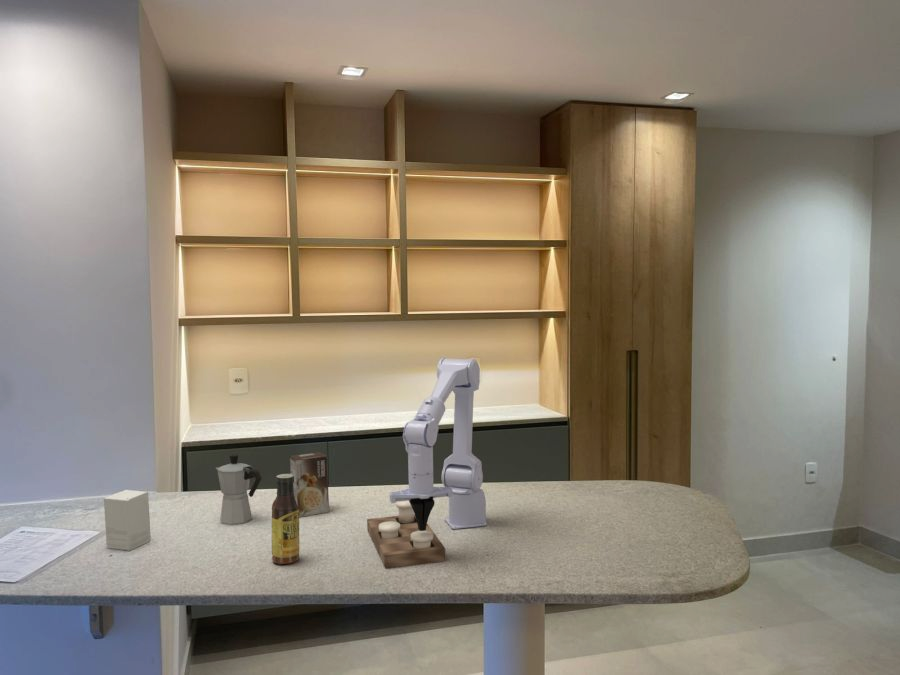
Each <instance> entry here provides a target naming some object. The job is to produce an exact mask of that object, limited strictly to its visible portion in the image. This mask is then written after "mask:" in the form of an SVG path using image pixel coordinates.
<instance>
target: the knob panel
mask: <svg viewBox="0 0 900 675" xmlns="http://www.w3.org/2000/svg"><path fill="white" fill-rule="evenodd" d="M388 521H393V522H398V523H400V522H399V515H394V516H385V517H383V516H382V517H375V518H373V517H372V518H367V519H366V522H367V523H366V526H367V530H368V531H367V532H368V535H369V537H370V539H371V541H372V543H374V544H373V546H374V545H375V546H374V547H375V550H376V552H377V554H378V556H379V559H380V558H381V559H380V561H381V560H382V561H381V563H382V565H383V567H384V569H391V567H393V568H398V567H399V566H400V567H407V566H408V567H409V566H415V564H416V565H422V564H423V563H424V564H431V562H432V563H439V561H440V562H446V547H445V545H444V544H443V543H442V542H441V541H440V539H439V538H438V536H437V535H436V534H435V532H434V530H432V528H431V527H430V525H429V524H428V523H427V525H426V530H425V531H430V532H432V533H433V540H432V541H431V547H429V548H420V549H413V541H411V533H413V532H415V531H420V530H419V529H418V524H417V520H416V516H415V513H414V522H412V523H400V530H399V531H398V537H396V538H387V539H381V532H380V531H379V524H380V523H383V522H388ZM400 567H399V568H400Z"/></svg>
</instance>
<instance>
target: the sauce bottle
mask: <svg viewBox="0 0 900 675" xmlns="http://www.w3.org/2000/svg"><path fill="white" fill-rule="evenodd" d="M275 482H276V497H275V499H274V501H273V502H272V506H271V555H272V557H271V559H272V562H273V563H275V564H276V565H289V564H292V563H295V562H297V561H298V560H299V558H300V517H299V508H298V506H297V503H296V500H295V496H294V491H293V482H294V475H293V474H291V473H281V474H278V475H276V476H275Z"/></svg>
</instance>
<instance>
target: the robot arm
mask: <svg viewBox="0 0 900 675" xmlns="http://www.w3.org/2000/svg"><path fill="white" fill-rule="evenodd" d="M479 365H480V364H479V362H478V361H477V360H476V359H475V358H471V359H465V358H462V359H461V358H445V357H442V358H440V360H439V361H438V363H437V366H436V376H437V377H436V378H437V380H436V383H435V385H434V387H433V390H432V392H431V395H430V396H427V397H426V398H424V399H423V401H422V403H421V405H420V406H419V408H418V410H417V411H416V412H417V413H416V414H415V416H414V418H413V419H411V420H409V421H407V422H406V423H405V424H404V428H403V433H402V439H403V443H404V445H405V451H406V453H407V460H408V462H407V463H408V464H407V467H408V472H407V473H408V488H406V489H402V490H398V491H394V492H393V491H392V492H389V501H390V503H391V504H394V503H395V504H396V502H398V501H408V500H409V502H410V504H411V506H412V509H413V511H414V514H415V516H416V520H417V524H418V529H419V530H420V531H425V530H426V525H427V524H428V521H429V518H430V515H431V512H432V510H433V508H434V507H435V500H434V499H435V498H444V497H445V498H446V497H448V517H444V521H445V522H446V523H447V524H448V526H449V527H450V528H451V529H453V530H457V529H466V528H467V529H468V528H474V527H475V528H476V527H485V526H487V525H488V524H487V505H486V504H487V501H486V495H485V491H484V490H483V489H482V488H481V487H482V484H483V479H484V475H483V469H482V468H483V467H482V466H483V465H482V461H481V460H480V459H479V458H478V457H477V456H475V455H474V453H473V452H472V449H473V448H472V446H473V422H474V421H473V419H474V418H473V417H474V393H475V392H476V391H478V390H479V388H480V378H481V375H480V374H481V368H480V366H479ZM452 392H453V394H454V409H453V410H454V412H453V416H454V417H453V442H452V454H450V455H449V456H448V457H446V458H445V459H444V460H443V461H444V462H443V466H442V467H443V468H442V471H441V479H440V480H441V483H442V485H443V486H434V447H433V446H434V445H435V444H436V441H437V438H438V434H439V424H440V422H441V420H442V418H443V416H444V414H445V412H446V405H445V403H446V401H447V399H448V398H449V396H450V395H451V393H452Z"/></svg>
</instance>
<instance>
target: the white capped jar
mask: <svg viewBox="0 0 900 675" xmlns="http://www.w3.org/2000/svg"><path fill="white" fill-rule="evenodd" d="M395 507H396V508H398V516H399V522H400V523H412V522H414V514H415V513H414V511H413V509H412V506H411V504H410V502H409V500H408V501H398V502H396V503H395Z"/></svg>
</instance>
